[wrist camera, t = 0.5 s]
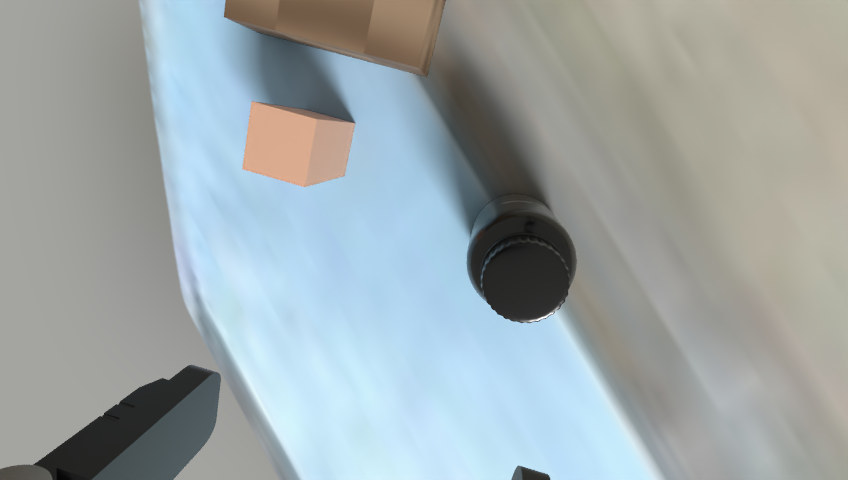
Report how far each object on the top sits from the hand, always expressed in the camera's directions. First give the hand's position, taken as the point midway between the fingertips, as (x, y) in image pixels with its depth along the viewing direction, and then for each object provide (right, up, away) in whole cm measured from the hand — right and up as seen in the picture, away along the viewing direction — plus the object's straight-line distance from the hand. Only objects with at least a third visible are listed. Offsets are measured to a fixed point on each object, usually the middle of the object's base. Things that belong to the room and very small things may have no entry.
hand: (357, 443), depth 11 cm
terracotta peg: (-6, +13, +24) cm, 28 cm away
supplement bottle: (+9, +6, +23) cm, 26 cm away
